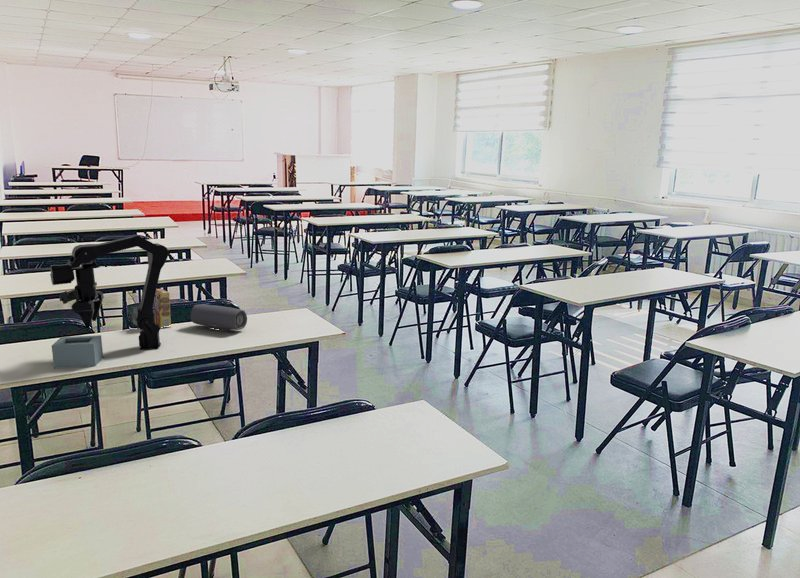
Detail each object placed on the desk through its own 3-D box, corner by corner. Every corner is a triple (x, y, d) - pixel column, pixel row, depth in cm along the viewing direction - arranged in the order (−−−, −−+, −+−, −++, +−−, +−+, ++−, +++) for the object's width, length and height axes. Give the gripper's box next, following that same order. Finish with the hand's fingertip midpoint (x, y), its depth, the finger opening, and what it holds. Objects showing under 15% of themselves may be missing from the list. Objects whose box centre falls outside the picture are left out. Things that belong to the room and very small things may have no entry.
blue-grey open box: (103, 356, 216) (101, 335, 214) (95, 365, 207) (93, 343, 205) (63, 358, 213) (61, 337, 212) (54, 368, 204) (51, 345, 202)
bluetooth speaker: (248, 329, 253) (247, 306, 250) (234, 335, 244) (233, 311, 242) (205, 323, 261) (203, 301, 259) (190, 328, 252) (188, 305, 250)
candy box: (172, 327, 254) (169, 292, 251) (161, 328, 252) (159, 293, 248) (165, 322, 261) (162, 288, 258) (154, 324, 258) (152, 289, 255)
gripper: (68, 277, 217) (73, 318, 221) (52, 288, 200) (58, 333, 203) (101, 275, 220) (106, 316, 223) (88, 286, 202) (94, 331, 206)
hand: (91, 324), depth 214 cm, fingers open, 9 cm apart
